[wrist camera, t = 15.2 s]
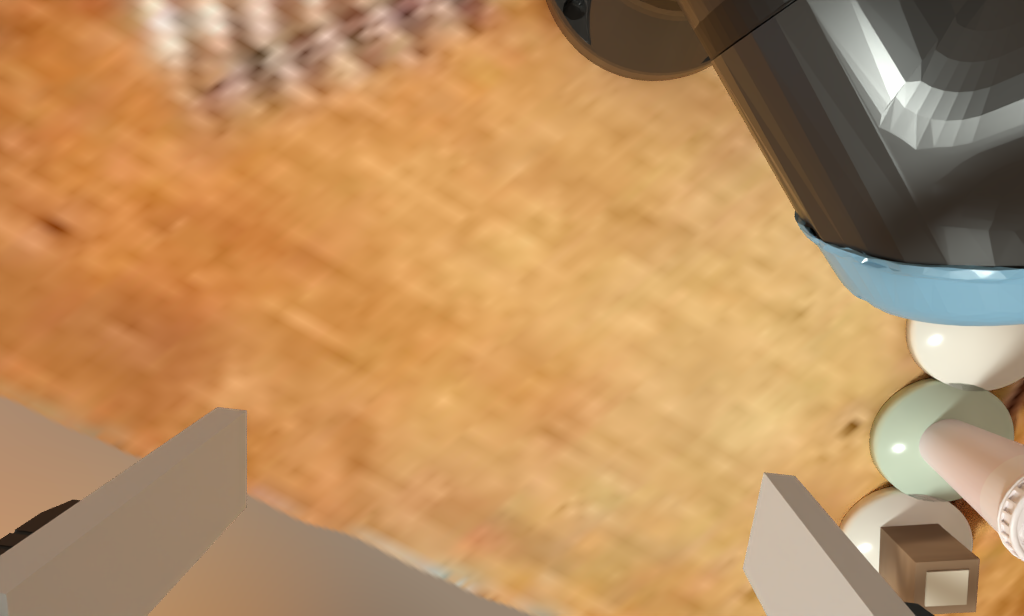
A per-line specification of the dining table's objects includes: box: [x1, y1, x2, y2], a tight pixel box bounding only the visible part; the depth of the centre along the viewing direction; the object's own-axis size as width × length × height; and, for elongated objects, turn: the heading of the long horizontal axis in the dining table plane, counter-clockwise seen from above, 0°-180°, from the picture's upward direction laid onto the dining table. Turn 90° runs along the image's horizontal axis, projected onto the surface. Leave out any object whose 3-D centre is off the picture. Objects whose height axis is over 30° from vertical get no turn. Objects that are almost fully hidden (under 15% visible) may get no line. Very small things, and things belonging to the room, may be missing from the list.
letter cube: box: [879, 524, 980, 614], centre depth 39 cm, size 4×4×4 cm
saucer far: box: [839, 486, 973, 573], centre depth 42 cm, size 9×9×1 cm
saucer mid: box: [869, 378, 1014, 502], centre depth 40 cm, size 9×9×1 cm
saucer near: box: [906, 319, 1024, 391], centre depth 38 cm, size 9×9×1 cm
